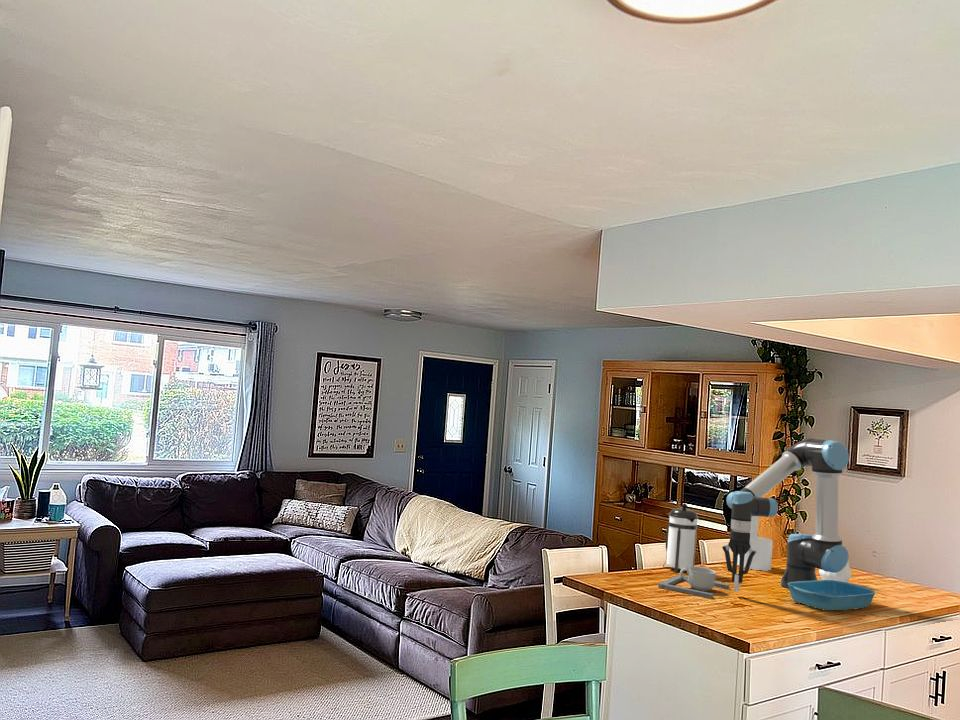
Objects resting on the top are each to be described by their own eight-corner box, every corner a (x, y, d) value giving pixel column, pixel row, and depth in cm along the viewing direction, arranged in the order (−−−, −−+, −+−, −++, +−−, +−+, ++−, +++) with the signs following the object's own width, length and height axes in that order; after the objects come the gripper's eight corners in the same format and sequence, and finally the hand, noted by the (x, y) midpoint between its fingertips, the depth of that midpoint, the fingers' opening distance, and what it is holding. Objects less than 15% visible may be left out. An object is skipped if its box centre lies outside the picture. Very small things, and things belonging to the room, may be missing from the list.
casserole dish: (825, 615, 291) (826, 595, 292) (775, 599, 311) (776, 581, 311) (884, 610, 310) (886, 591, 310) (834, 595, 329) (835, 578, 329)
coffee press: (701, 570, 356) (706, 504, 357) (690, 575, 342) (695, 506, 344) (664, 563, 365) (669, 499, 367) (652, 568, 351) (657, 501, 353)
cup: (818, 582, 352) (820, 551, 353) (818, 577, 365) (820, 547, 366) (851, 588, 347) (853, 556, 348) (849, 582, 360) (851, 552, 360)
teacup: (714, 588, 319) (716, 569, 320) (714, 594, 309) (715, 573, 310) (679, 583, 324) (681, 563, 324) (678, 588, 313) (679, 568, 314)
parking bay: (729, 588, 323) (729, 584, 323) (711, 598, 300) (711, 594, 300) (678, 578, 334) (679, 574, 334) (658, 587, 312) (658, 583, 312)
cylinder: (736, 568, 370) (740, 508, 372) (730, 561, 387) (734, 504, 389) (774, 572, 368) (778, 512, 369) (767, 565, 385) (770, 508, 386)
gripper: (721, 529, 310) (717, 589, 309) (755, 534, 303) (751, 595, 302) (726, 527, 317) (722, 586, 315) (759, 532, 310) (755, 592, 308)
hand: (736, 590), depth 309 cm, fingers closed
